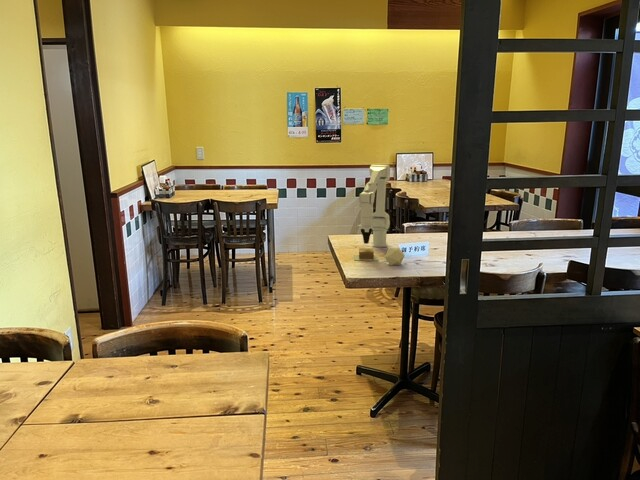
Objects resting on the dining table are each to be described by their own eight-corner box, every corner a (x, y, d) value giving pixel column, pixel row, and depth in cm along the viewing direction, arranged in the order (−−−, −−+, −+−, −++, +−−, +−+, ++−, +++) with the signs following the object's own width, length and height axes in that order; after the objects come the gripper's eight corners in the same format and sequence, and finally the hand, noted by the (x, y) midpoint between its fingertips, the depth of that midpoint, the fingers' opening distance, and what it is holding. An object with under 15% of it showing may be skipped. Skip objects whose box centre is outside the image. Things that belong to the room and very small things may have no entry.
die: (401, 268, 215) (409, 250, 217) (385, 260, 214) (393, 242, 216) (395, 270, 223) (403, 252, 225) (379, 261, 222) (388, 244, 224)
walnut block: (359, 247, 236) (359, 252, 228) (372, 248, 235) (373, 252, 228) (359, 254, 237) (359, 258, 229) (372, 254, 236) (373, 259, 228)
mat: (354, 255, 236) (354, 255, 236) (377, 255, 235) (377, 255, 235) (354, 260, 227) (354, 259, 227) (378, 260, 226) (378, 260, 226)
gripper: (358, 213, 237) (357, 239, 240) (358, 219, 223) (358, 246, 226) (372, 213, 236) (371, 239, 239) (373, 219, 222) (372, 246, 225)
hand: (366, 243), depth 233 cm, fingers closed
